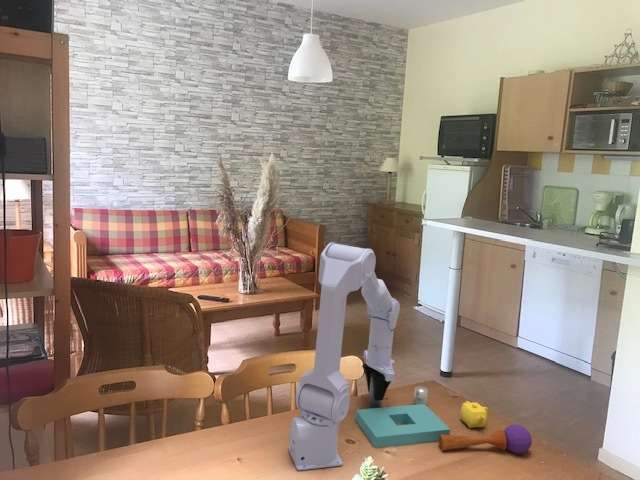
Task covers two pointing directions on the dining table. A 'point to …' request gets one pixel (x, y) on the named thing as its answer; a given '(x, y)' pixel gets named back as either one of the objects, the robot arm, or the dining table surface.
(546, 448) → the dining table surface
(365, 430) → the hole plate
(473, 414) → the teapot
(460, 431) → the dining table surface
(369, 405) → the tall pin
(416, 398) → the short pin
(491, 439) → the kendama
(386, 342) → the robot arm
